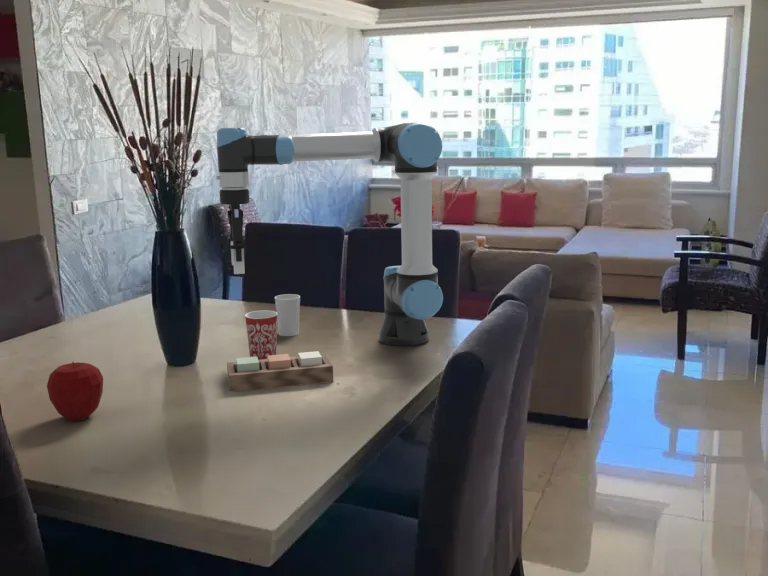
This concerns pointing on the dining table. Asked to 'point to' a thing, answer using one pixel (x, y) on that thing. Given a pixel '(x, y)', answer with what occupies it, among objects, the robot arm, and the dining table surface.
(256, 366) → the key sage
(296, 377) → the wooden compartment tray
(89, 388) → the apple
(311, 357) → the key ivory
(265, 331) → the mug
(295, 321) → the cup
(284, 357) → the key terracotta
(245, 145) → the robot arm
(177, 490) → the dining table surface
